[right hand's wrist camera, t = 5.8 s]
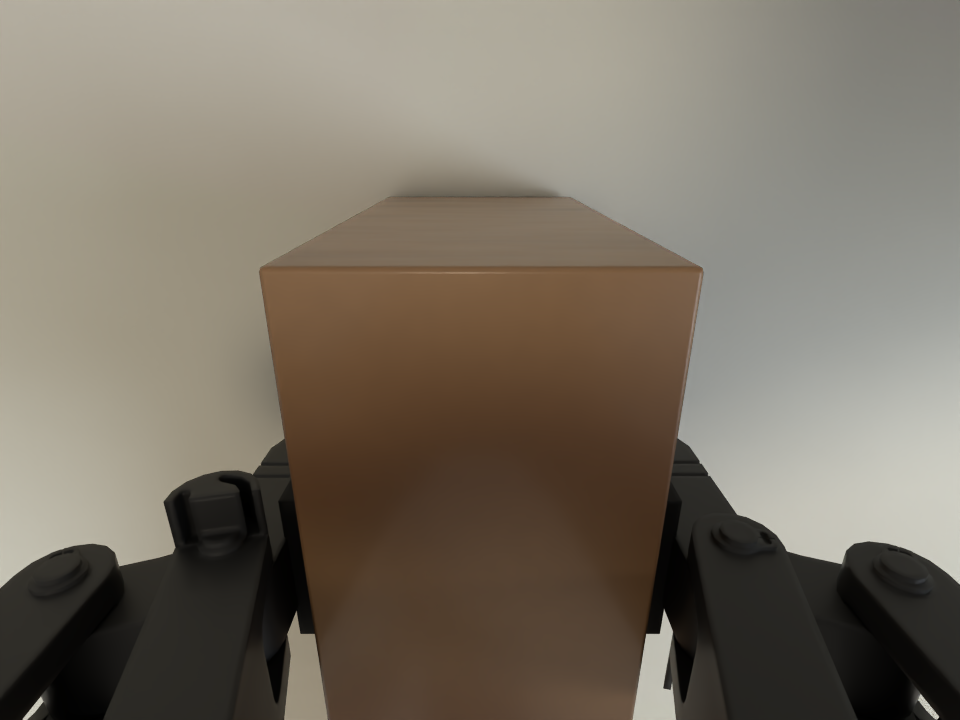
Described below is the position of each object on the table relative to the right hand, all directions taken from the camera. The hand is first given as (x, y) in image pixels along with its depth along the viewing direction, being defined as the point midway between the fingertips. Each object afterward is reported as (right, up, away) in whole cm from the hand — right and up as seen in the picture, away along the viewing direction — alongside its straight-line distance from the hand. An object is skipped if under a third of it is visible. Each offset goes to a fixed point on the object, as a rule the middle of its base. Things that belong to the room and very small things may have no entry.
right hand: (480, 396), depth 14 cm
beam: (0, -19, +8) cm, 21 cm away
